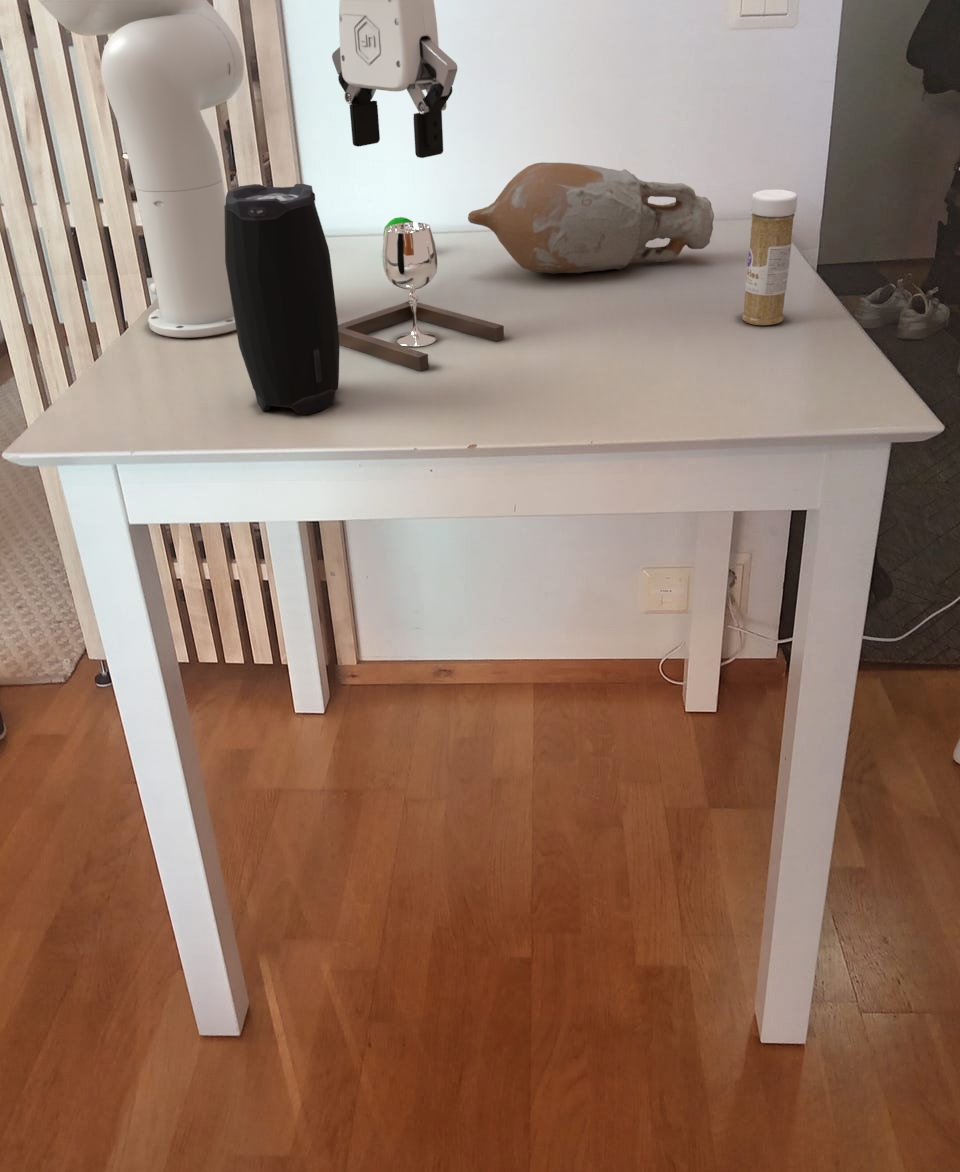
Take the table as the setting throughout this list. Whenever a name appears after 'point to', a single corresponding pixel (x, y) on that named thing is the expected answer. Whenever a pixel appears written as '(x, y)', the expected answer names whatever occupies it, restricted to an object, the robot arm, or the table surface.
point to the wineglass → (410, 269)
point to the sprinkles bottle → (769, 256)
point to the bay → (357, 328)
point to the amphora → (592, 218)
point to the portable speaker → (282, 296)
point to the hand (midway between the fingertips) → (397, 149)
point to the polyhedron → (397, 222)
